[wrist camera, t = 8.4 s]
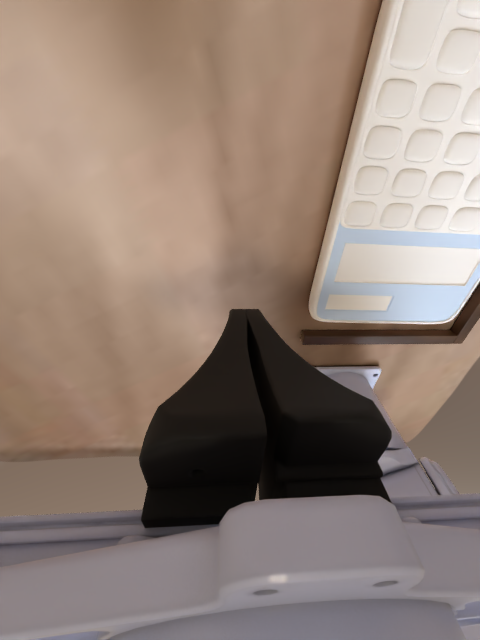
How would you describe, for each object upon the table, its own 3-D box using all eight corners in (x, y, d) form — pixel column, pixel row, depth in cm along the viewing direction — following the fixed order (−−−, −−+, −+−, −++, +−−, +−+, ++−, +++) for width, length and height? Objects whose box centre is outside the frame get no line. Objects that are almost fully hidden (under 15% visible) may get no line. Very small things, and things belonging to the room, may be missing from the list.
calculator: (639, -12, 13) (696, -33, 11) (440, 316, 24) (455, 328, 23) (389, -46, 12) (414, -74, 10) (303, 313, 23) (309, 325, 22)
